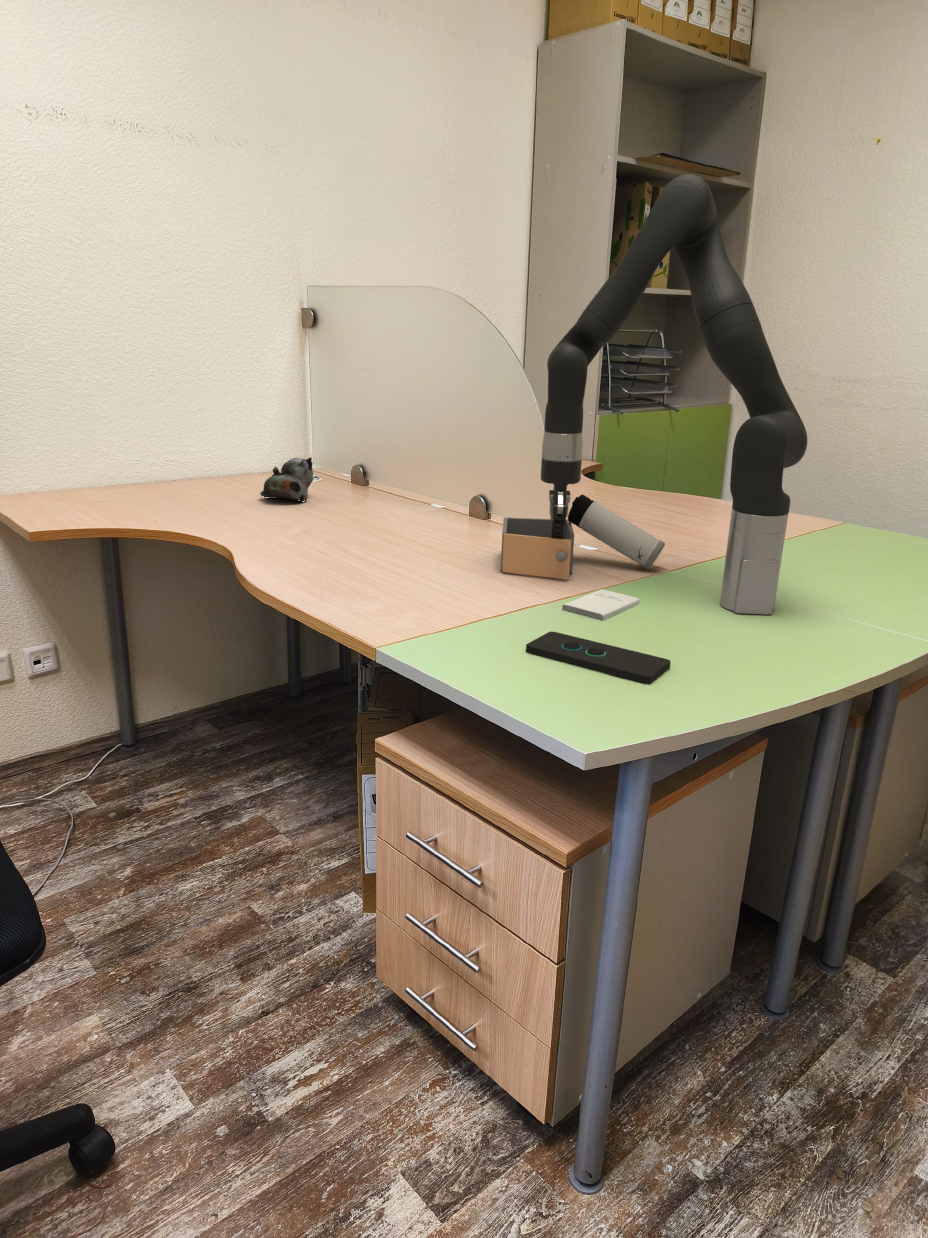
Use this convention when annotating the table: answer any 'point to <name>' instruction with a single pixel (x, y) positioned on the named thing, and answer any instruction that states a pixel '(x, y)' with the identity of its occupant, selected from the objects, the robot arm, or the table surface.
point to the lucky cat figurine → (290, 480)
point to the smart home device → (599, 657)
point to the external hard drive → (601, 604)
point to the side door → (536, 556)
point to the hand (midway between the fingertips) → (556, 546)
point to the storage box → (535, 531)
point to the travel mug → (615, 531)
